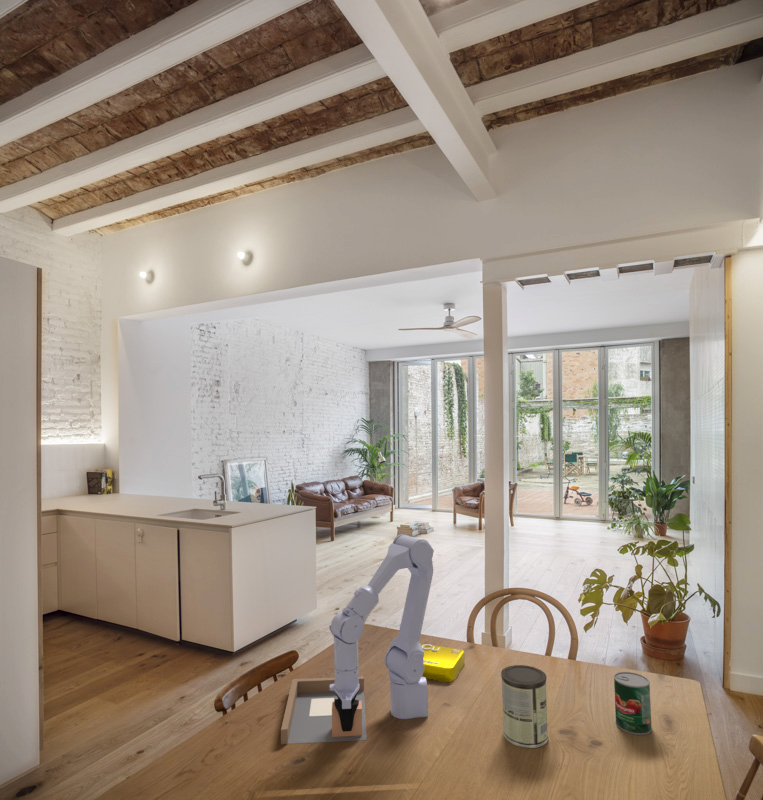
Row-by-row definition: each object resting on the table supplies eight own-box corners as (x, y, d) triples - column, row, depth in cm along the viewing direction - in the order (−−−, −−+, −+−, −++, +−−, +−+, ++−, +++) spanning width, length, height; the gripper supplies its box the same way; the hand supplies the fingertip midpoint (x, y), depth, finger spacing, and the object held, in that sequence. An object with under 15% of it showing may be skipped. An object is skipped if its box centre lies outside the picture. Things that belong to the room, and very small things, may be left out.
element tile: (403, 676, 161) (402, 659, 161) (420, 656, 175) (419, 641, 175) (452, 684, 155) (452, 667, 155) (466, 663, 169) (465, 647, 169)
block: (361, 726, 132) (361, 700, 132) (362, 735, 128) (361, 708, 128) (332, 727, 131) (332, 701, 132) (332, 736, 127) (331, 710, 128)
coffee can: (505, 721, 135) (503, 662, 135) (549, 728, 131) (547, 667, 132) (500, 744, 125) (498, 680, 126) (547, 752, 121) (545, 686, 122)
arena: (363, 691, 151) (363, 676, 151) (366, 743, 126) (366, 725, 126) (292, 694, 150) (292, 679, 150) (280, 747, 125) (280, 729, 125)
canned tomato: (652, 722, 133) (650, 675, 134) (651, 738, 126) (649, 689, 127) (617, 714, 137) (615, 669, 137) (613, 729, 130) (612, 682, 131)
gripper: (330, 654, 137) (331, 710, 137) (328, 680, 123) (328, 743, 122) (358, 653, 138) (359, 709, 137) (359, 679, 123) (360, 741, 123)
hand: (347, 725), depth 130 cm, fingers closed on block, 4 cm apart
